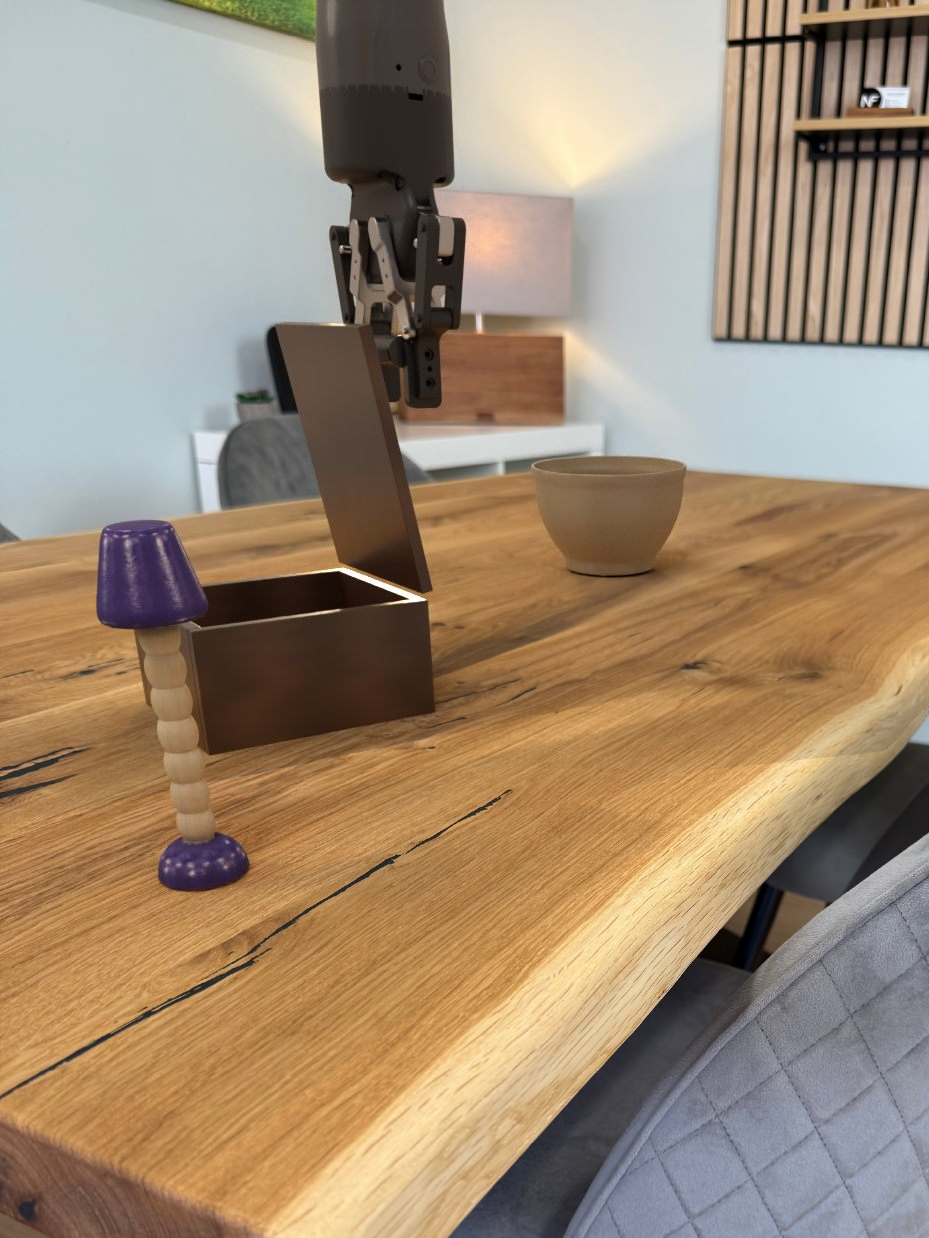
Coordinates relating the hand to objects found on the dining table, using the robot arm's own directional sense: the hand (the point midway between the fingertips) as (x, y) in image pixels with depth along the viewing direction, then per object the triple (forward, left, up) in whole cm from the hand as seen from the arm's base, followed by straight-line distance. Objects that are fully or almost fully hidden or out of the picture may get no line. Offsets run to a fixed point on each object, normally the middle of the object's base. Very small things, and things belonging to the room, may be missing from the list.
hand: (403, 403), depth 76 cm
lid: (-4, 0, -3) cm, 5 cm away
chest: (-10, 0, -20) cm, 22 cm away
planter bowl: (+39, +33, -20) cm, 55 cm away
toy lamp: (-22, -19, -20) cm, 35 cm away
